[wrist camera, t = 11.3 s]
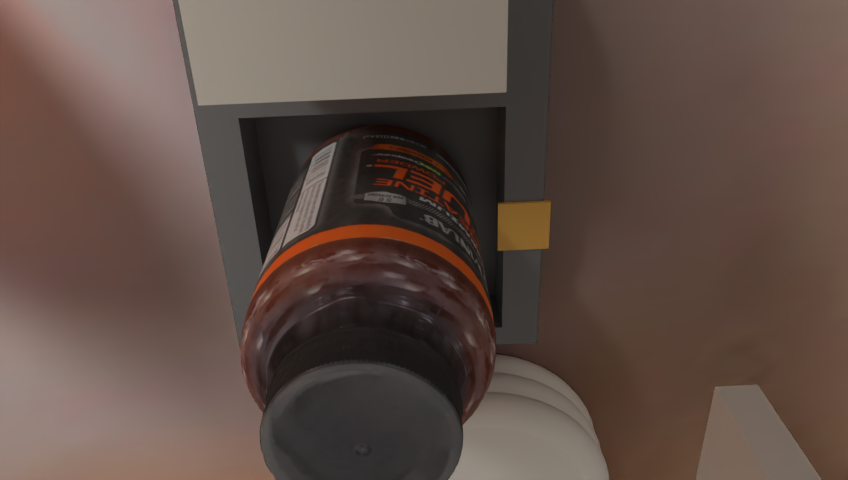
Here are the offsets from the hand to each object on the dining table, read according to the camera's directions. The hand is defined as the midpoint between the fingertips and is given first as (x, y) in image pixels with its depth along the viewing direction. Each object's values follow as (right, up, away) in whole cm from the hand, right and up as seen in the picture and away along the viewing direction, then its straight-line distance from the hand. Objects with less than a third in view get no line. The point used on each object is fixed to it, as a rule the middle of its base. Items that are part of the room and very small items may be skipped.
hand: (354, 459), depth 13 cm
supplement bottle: (0, +5, +11) cm, 12 cm away
